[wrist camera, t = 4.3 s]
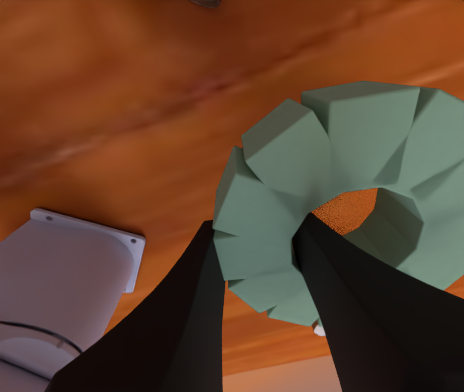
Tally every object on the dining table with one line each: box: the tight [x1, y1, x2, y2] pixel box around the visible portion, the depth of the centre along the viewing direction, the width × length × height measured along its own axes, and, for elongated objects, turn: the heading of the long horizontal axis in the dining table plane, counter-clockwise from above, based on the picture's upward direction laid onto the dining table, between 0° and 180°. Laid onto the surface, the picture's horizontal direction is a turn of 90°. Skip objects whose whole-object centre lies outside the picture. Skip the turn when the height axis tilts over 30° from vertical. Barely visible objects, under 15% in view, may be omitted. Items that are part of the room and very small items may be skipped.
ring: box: [212, 81, 464, 327], centre depth 10 cm, size 11×11×3 cm
